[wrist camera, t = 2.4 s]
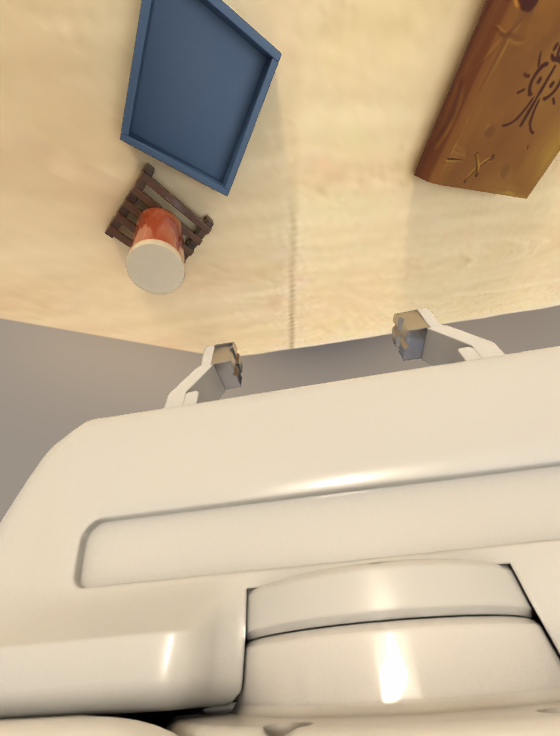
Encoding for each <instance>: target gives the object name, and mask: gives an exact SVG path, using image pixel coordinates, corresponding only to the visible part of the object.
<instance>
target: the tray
mask: <svg viewBox="0 0 560 736" xmlns="http://www.w3.org/2000/svg"><path fill="white" fill-rule="evenodd" d="M280 57H281V53H280V52H279V51H278V50H277V49H276V48H275V47H274V46H272V45H271V44H270V43H269V42H268V41H267V40H266V39H265V38H263V37H262V36H261V35H260V34H259V33H258V32H257V31H256V30H255V29H253V28H252V27H251V26H250V25H249V24H248V23H247V22H246V21H244V20H243V19H242V18H241V17H240V16H239V15H238V14H237V13H235V12H234V11H233V10H232V9H231V8H230V7H229V6H228V5H226V4H225V3H224V2H223V1H222V0H142V4H141V10H140V16H139V23H138V29H137V35H136V42H135V48H134V54H133V60H132V67H131V73H130V79H129V86H128V92H127V98H126V104H125V111H124V117H123V123H122V130H121V136H120V140H122V141H124V142H126V143H128V144H130V145H131V146H133V147H135V148H137V149H139V150H141V151H143V152H145V153H147V154H148V155H150V156H152V157H154V158H156V159H158V160H160V161H162V162H163V163H165V164H167V165H169V166H171V167H173V168H175V169H177V170H179V171H180V172H182V173H184V174H186V175H188V176H190V177H192V178H194V179H195V180H197V181H199V182H201V183H203V184H205V185H207V186H209V187H211V188H212V189H214V190H216V191H218V192H220V193H222V194H224V195H226V196H228V194H229V191H230V189H231V186H232V184H233V181H234V178H235V176H236V173H237V170H238V168H239V165H240V162H241V160H242V157H243V155H244V152H245V149H246V147H247V144H248V141H249V139H250V136H251V133H252V131H253V128H254V126H255V123H256V120H257V118H258V115H259V112H260V110H261V107H262V104H263V102H264V99H265V97H266V94H267V91H268V89H269V86H270V83H271V81H272V78H273V75H274V73H275V70H276V68H277V65H278V62H279V60H280Z"/></svg>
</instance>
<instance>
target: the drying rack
mask: <svg viewBox="0 0 560 736" xmlns="http://www.w3.org/2000/svg"><path fill="white" fill-rule="evenodd" d="M154 171H155V169H154V168H153V167H152V166H151V165H150V164H149V163H147V164H146V166H145V167H144V169H143V170H142V172H141V174H140V175H139V177H138V179H137V180H136V182H135V183H134V185H133V187H132V188H131V190H130V192H129V193H128V195H127V196H126V198H125V200H124V201H123V203H122V204H121V206H120V208H119V209H118V211H117V213H116V214H115V216H114V217H113V219H112V221H111V222H110V224H109V226H108V227H107V229H106V231H105V234H107V235H108V236H110V237H112V238H113V237H115V238H116V239H118V240H119V241H121V242H123V243H124V244H126V245H127V246H129V247H130V246H131V242H132V239H130V238H129V237H128V236H126V235H125V234H123V233H122V232H120V231H119V230H118V229H119V227H120V225H121V224H122V225H123V226H125V227H126V228H128V229H129V230H130V231H132V232H133V233H134V231H135V227H136V225H135V224H134V223H133V222H131V221H130V220H128V219H127V218H126V216H127V214H128V213H129V211H130V212H131V213H132V214H134V215H135V216H137V217H139V215H140V214H141V213H142V212H143V211H142V210H141V209H139V208H138V207H137V206H135V205H134V203H135V202H136V200H137V199H138V198H139V199H140V200H141V201H143V202H144V203H145V204H147V205H148V206H149V207H150V208H152V207H159V208H163V207H162V206H161V205H159V204H158V203H157V202H156V201H154V200H153V199H152V198H151V197H149V196H148V195H147V194H146V193H145V192H143V189H144V188H145V186H146V185H147V184H148V185H149V186H150V187H151V188H153V189H154V190H155V191H156V192H157V193H159V194H160V195H161V196H162V197H163V198H165V199H166V200H167V201H168V202H169V203H171V204H172V205H173V206H174V207H176V208H177V209H178V210H179V211H180V212H182V213H183V214H184V215H185V216H186V217H188V218H189V219H190V220H191V221H192V222H194V223H195V224H196V225H197V226H198V228H197V229H196V231H195V232H193V231H192V230H190V229H189V228H188V227H187V226H185V225H184V224H183V223H182V222H181V221H180V223H181V225H182V227H183V232H184V234H185V235H186V236H188V237H189V240H188V241H187V242H186V244H185V243H184V263H185V260H186V259H187V258H188V256H191V255H192V254H193V252H194V249H195V247H196V246H197V245H200V244H201V242H202V239H203V237H204V236H205V235H206V234H208V233H209V232H210V231H211V227H212V226H213V225H214V224H213V220H212V219H211V218H210V217H209V216H206V218H205V219H204V220H201V219H200V218H199V217H198V216H197V215H196V214H194V213H193V212H192V211H191V210H190V209H189V208H187V207H186V206H185V205H184V204H183V203H182V202H180V201H179V200H178V199H177V198H176V197H175V196H173V195H172V194H171V193H170V192H169V191H168V190H166V189H165V188H164V187H163V186H162V185H161V184H159V183H158V182H157V181H156V180H155V179H154V178H152V175H153V174H154Z"/></svg>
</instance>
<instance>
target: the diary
mask: <svg viewBox="0 0 560 736" xmlns="http://www.w3.org/2000/svg"><path fill="white" fill-rule="evenodd" d="M559 151H560V0H487V2H486V5H485V7H484V10H483V12H482V14H481V17H480V19H479V21H478V24H477V26H476V29H475V31H474V33H473V36H472V38H471V41H470V43H469V45H468V48H467V50H466V52H465V55H464V57H463V60H462V62H461V64H460V67H459V69H458V72H457V74H456V76H455V79H454V81H453V84H452V86H451V88H450V91H449V93H448V95H447V98H446V100H445V103H444V105H443V107H442V110H441V112H440V115H439V117H438V119H437V122H436V124H435V127H434V129H433V131H432V134H431V136H430V138H429V141H428V143H427V146H426V148H425V150H424V153H423V155H422V158H421V160H420V162H419V165H418V167H417V170H416V172H415V174H414V175H415V176H417V177H420V178H422V179H424V180H426V181H428V182H431V183H434V184H438V185H444V186H451V187H457V188H463V189H469V190H476V191H482V192H488V193H494V194H501V195H507V196H513V197H519V198H526V199H527V197H528V196H529V194H530V193H531V192H532V190H533V189H534V187H535V186H536V184H537V183H538V181H539V180H540V178H541V177H542V176H543V174H544V173H545V171H546V170H547V168H548V167H549V165H550V164H551V162H552V161H553V159H554V158H555V157H556V155H557V154H558V152H559Z"/></svg>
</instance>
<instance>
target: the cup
mask: <svg viewBox="0 0 560 736" xmlns="http://www.w3.org/2000/svg"><path fill="white" fill-rule="evenodd" d="M126 267H127V272H128V274H129V276H130V278H131V279H132V281H133V282H134V283H135V284H136V285H137V286H138V287H140V288H141V289H143V290H145V291H147V292H150V293H154V294H167V293H170V292H173V291H174V290H176V289H177V288H179V286H180V285H181V284H182V282H183V280H184V276H185V263H184V232H183V227H182V225H181V223H180V221H179V219H178V218H177V217H176V216H175V215H174V214H173V213H171V212H170V211H168V210H166V209H164V208H159V207H152V208H148V209H146V210H144V211H143V212H142V213H141V214H140V215H139V217H138V220H137V223H136V227H135V231H134V234H133V238H132V242H131V246H130V249H129V253H128V257H127V261H126Z"/></svg>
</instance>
